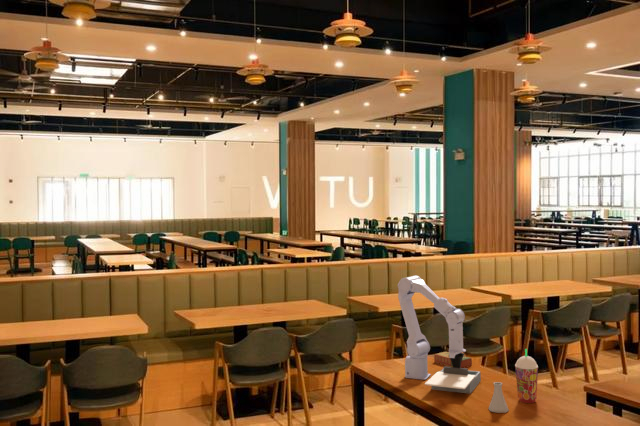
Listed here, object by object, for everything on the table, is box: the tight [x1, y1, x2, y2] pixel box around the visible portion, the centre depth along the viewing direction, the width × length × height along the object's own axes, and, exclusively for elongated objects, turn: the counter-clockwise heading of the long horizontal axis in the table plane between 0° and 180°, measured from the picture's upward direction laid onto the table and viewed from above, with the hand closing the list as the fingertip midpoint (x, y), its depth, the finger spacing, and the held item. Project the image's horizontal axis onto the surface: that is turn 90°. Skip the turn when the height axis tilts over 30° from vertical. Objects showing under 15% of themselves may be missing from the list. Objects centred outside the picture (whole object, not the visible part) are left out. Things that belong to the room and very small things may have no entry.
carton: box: [433, 351, 473, 369], centre depth 299 cm, size 8×16×4 cm, turn 37°
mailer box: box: [430, 368, 482, 395], centre depth 267 cm, size 16×18×4 cm
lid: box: [424, 365, 476, 389], centre depth 259 cm, size 16×18×3 cm
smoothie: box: [514, 348, 539, 404], centre depth 244 cm, size 8×8×20 cm
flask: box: [488, 381, 509, 414], centre depth 235 cm, size 7×7×10 cm
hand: (456, 371), depth 268 cm, fingers closed
